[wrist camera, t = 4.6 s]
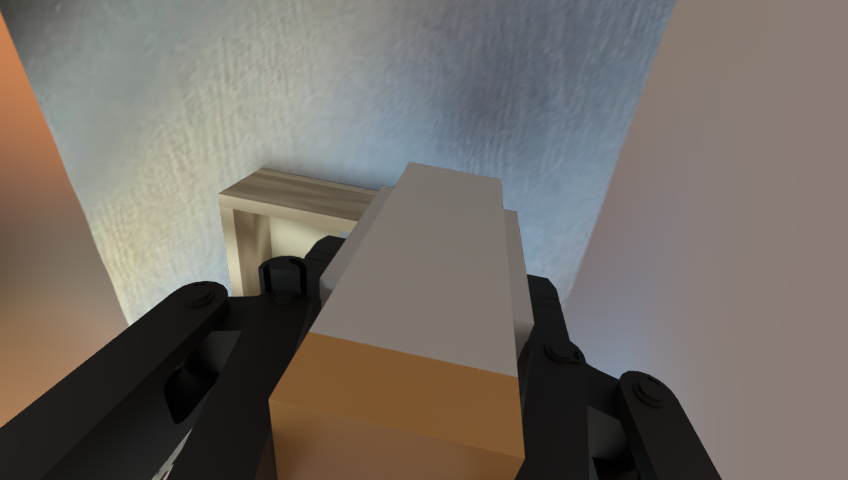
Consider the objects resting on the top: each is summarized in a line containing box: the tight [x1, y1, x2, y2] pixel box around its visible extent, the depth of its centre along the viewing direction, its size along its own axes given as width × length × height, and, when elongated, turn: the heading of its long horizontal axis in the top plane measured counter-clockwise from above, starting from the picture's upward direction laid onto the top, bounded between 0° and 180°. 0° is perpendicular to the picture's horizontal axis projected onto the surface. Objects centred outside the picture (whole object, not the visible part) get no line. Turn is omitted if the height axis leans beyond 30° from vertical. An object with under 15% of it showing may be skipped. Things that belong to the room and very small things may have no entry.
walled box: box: [218, 168, 378, 297], centre depth 34 cm, size 20×18×6 cm
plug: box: [269, 162, 525, 480], centre depth 12 cm, size 4×4×12 cm
